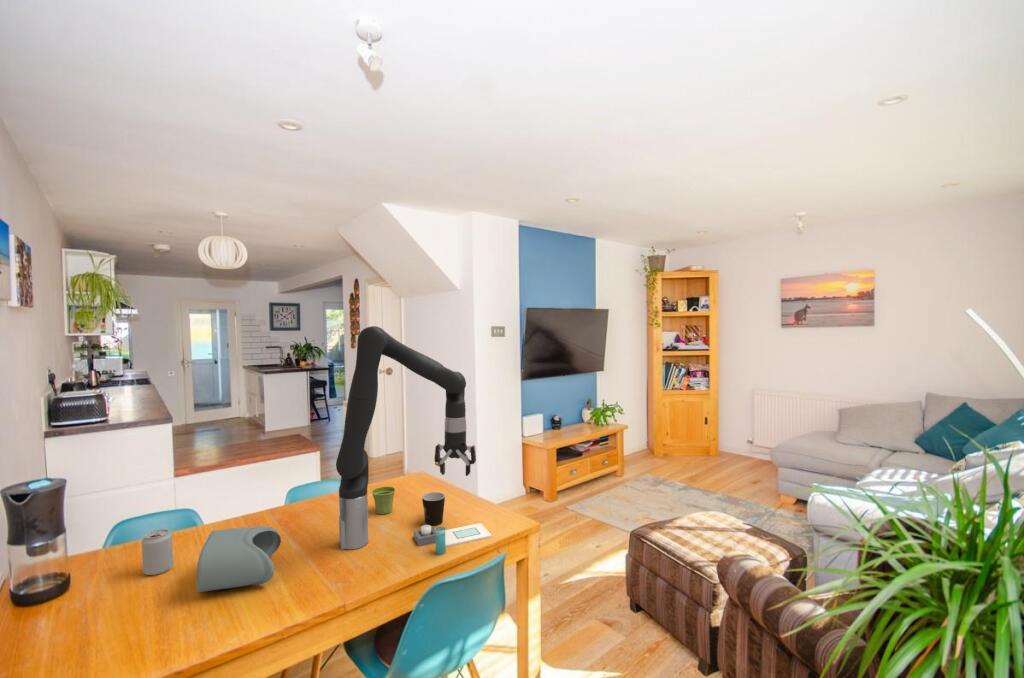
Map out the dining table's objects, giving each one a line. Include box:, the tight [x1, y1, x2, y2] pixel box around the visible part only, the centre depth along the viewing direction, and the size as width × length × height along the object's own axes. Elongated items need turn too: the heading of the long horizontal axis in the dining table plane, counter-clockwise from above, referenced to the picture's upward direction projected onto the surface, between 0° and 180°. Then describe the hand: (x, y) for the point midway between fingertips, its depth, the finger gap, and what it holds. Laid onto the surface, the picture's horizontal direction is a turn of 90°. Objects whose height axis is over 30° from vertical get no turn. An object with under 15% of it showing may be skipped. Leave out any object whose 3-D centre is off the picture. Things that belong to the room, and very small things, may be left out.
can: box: [141, 528, 174, 576], centre depth 147 cm, size 8×8×12 cm
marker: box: [434, 526, 447, 556], centre depth 157 cm, size 3×3×8 cm
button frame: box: [413, 526, 436, 547], centre depth 167 cm, size 7×7×2 cm
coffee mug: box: [421, 491, 446, 527], centre depth 182 cm, size 12×9×10 cm
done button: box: [420, 524, 432, 537], centre depth 166 cm, size 4×4×3 cm
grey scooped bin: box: [196, 525, 282, 593], centre depth 144 cm, size 22×19×13 cm
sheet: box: [445, 522, 493, 547], centre depth 170 cm, size 17×11×1 cm, turn 115°
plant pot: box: [371, 485, 397, 515], centre depth 191 cm, size 9×9×9 cm
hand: (455, 474), depth 168 cm, fingers open, 8 cm apart
